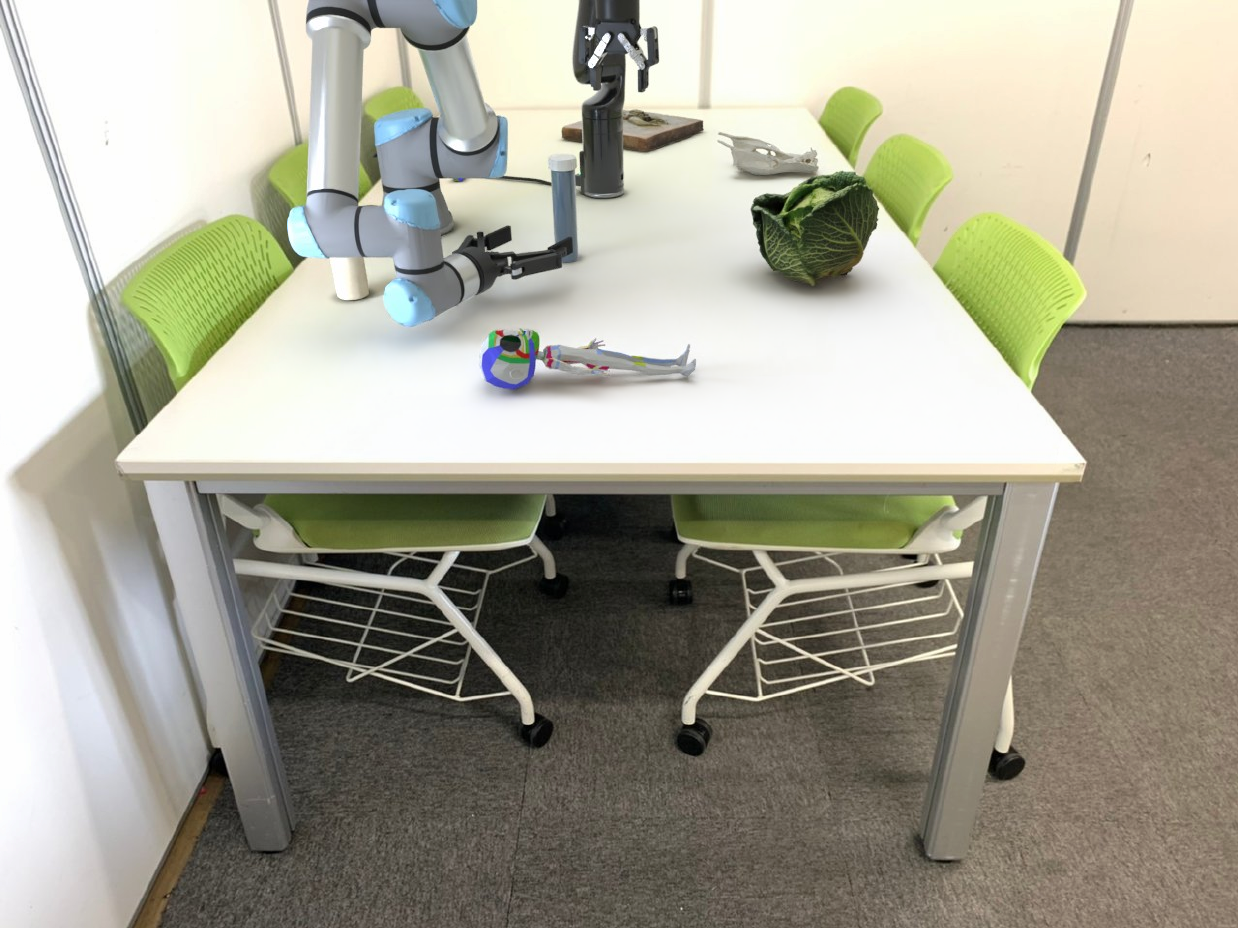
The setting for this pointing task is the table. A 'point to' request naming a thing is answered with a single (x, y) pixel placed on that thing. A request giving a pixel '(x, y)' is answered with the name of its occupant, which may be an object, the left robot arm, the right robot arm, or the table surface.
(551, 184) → the right robot arm
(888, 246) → the table surface
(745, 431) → the table surface
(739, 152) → the anatomical model
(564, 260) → the blue slim bottle
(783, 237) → the vegetable
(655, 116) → the plaque
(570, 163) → the lid
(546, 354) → the toy
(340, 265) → the candle
